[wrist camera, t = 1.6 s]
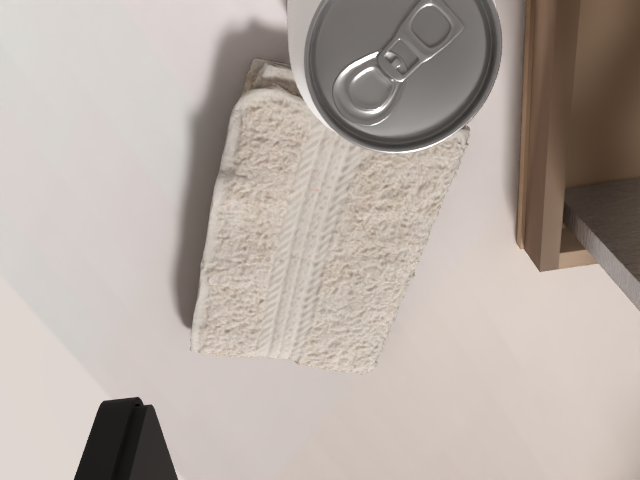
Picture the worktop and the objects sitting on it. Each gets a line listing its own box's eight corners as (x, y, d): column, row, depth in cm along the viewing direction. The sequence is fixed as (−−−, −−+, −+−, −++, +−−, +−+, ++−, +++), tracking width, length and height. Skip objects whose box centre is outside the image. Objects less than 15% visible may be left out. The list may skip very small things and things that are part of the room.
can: (257, 3, 27) (240, 69, 16) (357, -119, 24) (409, -132, 14) (358, 96, 29) (398, 206, 19) (456, -7, 27) (563, 52, 17)
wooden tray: (761, -126, 25) (816, -129, 23) (689, 218, 34) (723, 245, 31) (529, -89, 25) (557, -88, 23) (516, 243, 34) (536, 272, 31)
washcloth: (469, 97, 30) (487, 117, 27) (372, 359, 39) (378, 393, 36) (238, 44, 28) (233, 59, 25) (190, 332, 37) (183, 366, 34)
